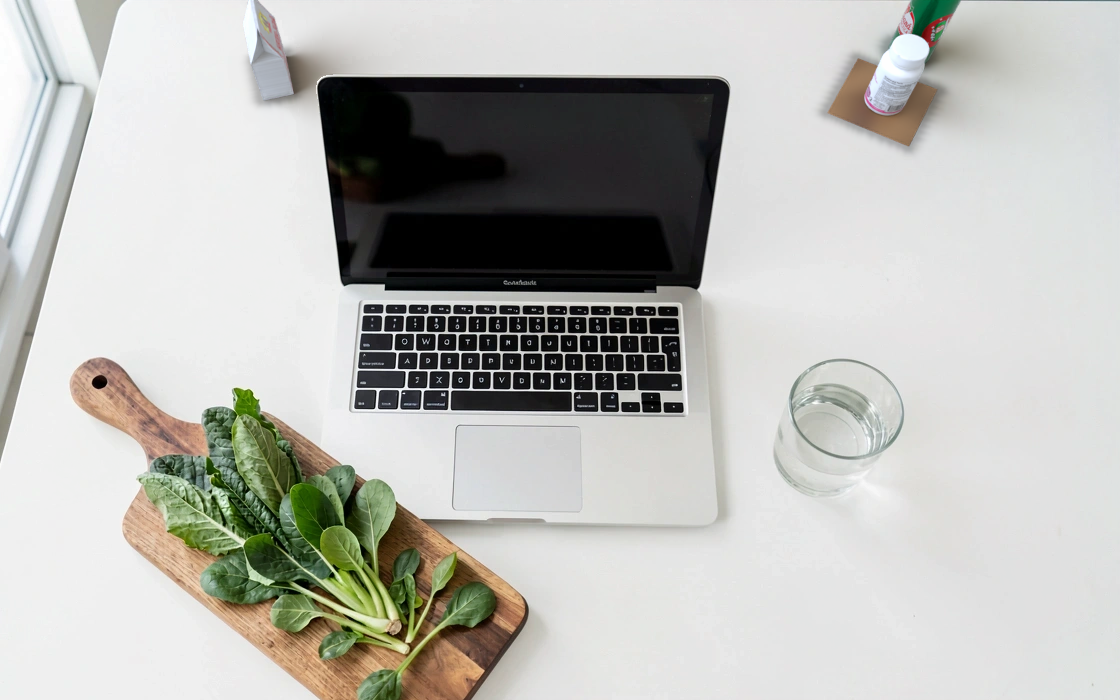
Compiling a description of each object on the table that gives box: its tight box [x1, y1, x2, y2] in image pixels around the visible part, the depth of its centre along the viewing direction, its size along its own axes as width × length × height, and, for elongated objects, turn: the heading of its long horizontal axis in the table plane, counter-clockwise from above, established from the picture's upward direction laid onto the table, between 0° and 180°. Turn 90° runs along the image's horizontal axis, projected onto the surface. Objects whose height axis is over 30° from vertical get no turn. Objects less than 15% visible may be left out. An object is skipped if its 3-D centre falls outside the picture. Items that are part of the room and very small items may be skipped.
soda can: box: [887, 0, 962, 65], centre depth 105 cm, size 5×5×12 cm
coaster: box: [826, 58, 938, 147], centre depth 107 cm, size 10×10×1 cm
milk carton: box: [242, 0, 295, 101], centre depth 105 cm, size 4×7×10 cm, turn 15°
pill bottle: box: [864, 34, 929, 116], centre depth 103 cm, size 5×5×8 cm
